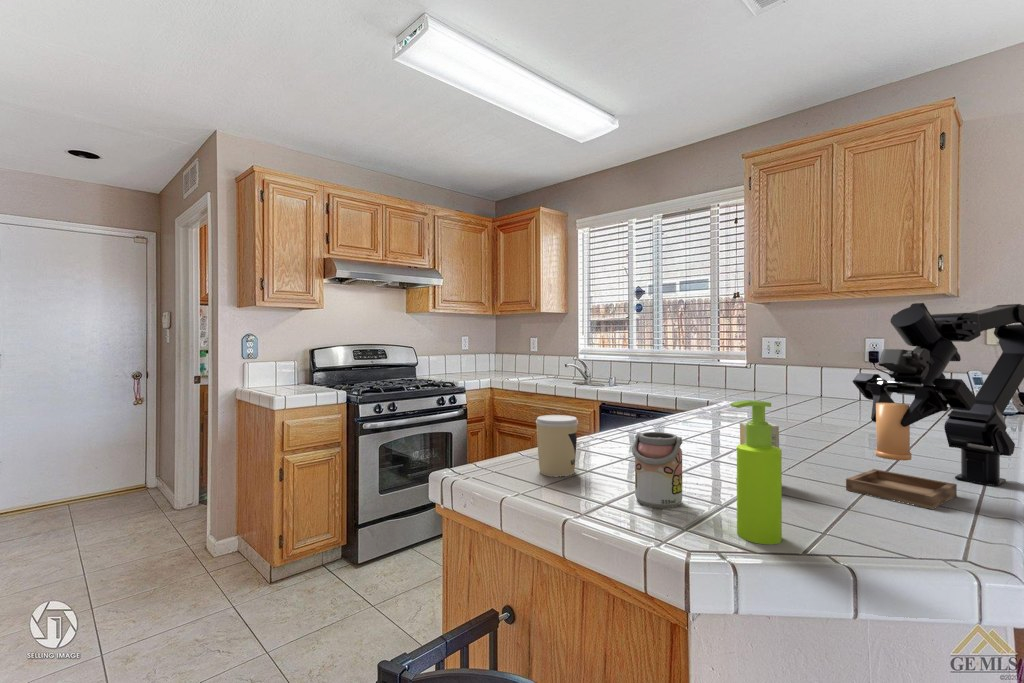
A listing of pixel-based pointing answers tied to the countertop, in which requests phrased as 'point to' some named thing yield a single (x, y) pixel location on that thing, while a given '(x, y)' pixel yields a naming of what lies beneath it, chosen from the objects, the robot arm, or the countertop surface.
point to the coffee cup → (557, 444)
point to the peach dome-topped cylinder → (892, 432)
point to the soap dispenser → (759, 480)
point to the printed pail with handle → (658, 469)
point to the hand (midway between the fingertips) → (887, 422)
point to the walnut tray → (902, 488)
